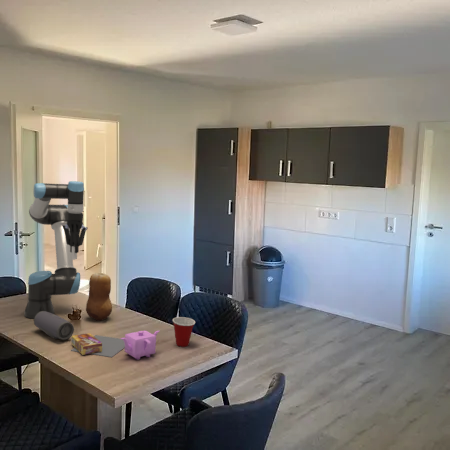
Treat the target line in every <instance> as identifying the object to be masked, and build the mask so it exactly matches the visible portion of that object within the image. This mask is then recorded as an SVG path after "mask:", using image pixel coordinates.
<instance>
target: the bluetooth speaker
mask: <svg viewBox="0 0 450 450" xmlns="http://www.w3.org/2000/svg"><path fill="white" fill-rule="evenodd" d="M33 324H34V326H36V328H37V329H39V330H40V331H42V332H44V333H45V334H46V335H47V336H49V337H50V338H52V339H55V340H58V339H59V340H62V341H65V340H69V339H70V338H72V336H73V335H74V332H75V327H74V325H73V323H72V322H70V321H68V320H66V319H65V318H63V317H61V316H60V315H56V314H55V313H54V314H52V313H49V312H46V311H41V312H39V313H37V314H36V316H35V318H34V319H33Z"/></svg>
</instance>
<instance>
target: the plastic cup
mask: <svg viewBox="0 0 450 450" xmlns="http://www.w3.org/2000/svg"><path fill="white" fill-rule="evenodd" d="M172 323H173V328H174V337H175V345H176V346H177V347H180V346H181V348H185V347H188V346H189V344H190V341H191V336H192V333H193V328H194V325H195V324H196V321H195V320H194V319H193V318H190V317H185V316H178V317H174V318H172Z"/></svg>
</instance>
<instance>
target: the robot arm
mask: <svg viewBox="0 0 450 450" xmlns="http://www.w3.org/2000/svg"><path fill="white" fill-rule="evenodd" d="M84 193H85V186H84V182H83V181H79V180H78V181H73V180H72V181H68V182H67V184H66V183H45V182H39V183H38V182H37V183H34V185H33V197H34V200H33V203H32V204H31V205H29V209H28V214H29V217H30V218H31V220H33V221H34V222H36V223H38V224H40V225H48V226H49V225H50V227H51V229H52V230H53V231H54V242H55V243H54V244H55V255H56V256H55V257H56V269H55V270H54V273H53V272H52V271H51V270H40V271H36V272H33V273H30V274H29V276H28V279H27V280H28V283H27V284H28V290H27V291H28V292H27V293H28V294H27V303H26V307H25V309H24V313H23V315H24V317H25V318H27V319H33V320H34V318H35V316H36V314H37V313H39V312H41V311H46V312H49V313H52V314H54V315H55V309H54V304H53V303H52V296H61V295H62V296H64V295H75V294H78V292H79V289H80V285H81V273H80V272H78V271H77V268H76V267H74V262H73V261H75V260H77V259H78V253H79V250H80V247H81V246H82V245H84V244H83V243H84V240H85V236H86V232H87V230H88V227H87V226H85V225H84V222H83V221H84V213H83V212H84ZM52 199H54V200H55V199H59V200H67V204H50V203H51V200H52Z"/></svg>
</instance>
